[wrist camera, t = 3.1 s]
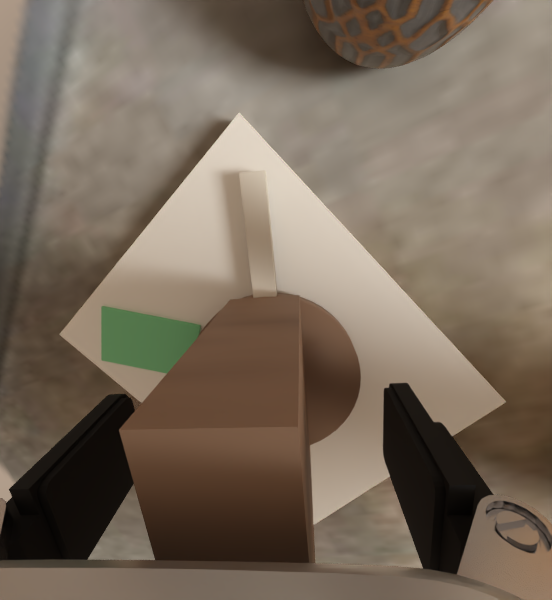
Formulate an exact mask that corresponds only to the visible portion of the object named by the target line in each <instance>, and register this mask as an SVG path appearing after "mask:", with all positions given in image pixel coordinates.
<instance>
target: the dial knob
mask: <svg viewBox="0 0 552 600" xmlns="http://www.w3.org/2000/svg"><path fill="white" fill-rule="evenodd" d="M239 177H240V186H241V195H242V204H243V212H244V221H245V230H246V238H247V247H248V256H249V265H250V273H251V282H252V291H253V295H250V296H246V297H243V298H241V299H230V300H229V301H228V303H227V304H226V305H225V306H224V307H223V308H222V309H221V310H220V311H219V312H218V313H217V314H216V315H215V316H214V317H213V318H212V319H211V320H210V321H209V322H208V323H207V324H206V326H205V327H204V328H203V330H202V331H201V332H200V334H199V335H198V337H197V339H196V340H195V341H194V342H193V344H192V345H191V346H190V347H189V348H188V350H187V351H186V352H185V353H184V354H183V355H182V357H181V358H180V359H179V360H178V361H177V362H176V364H175V365H174V366H173V367H172V368H171V369H170V371H169V372H168V373H167V374H166V375H165V376H164V378H163V379H162V380H161V381H160V382H159V384H158V385H157V386H156V387H155V388H154V389H153V391H152V392H151V393H150V394H149V395H148V396H147V398H146V399H145V400H144V401H143V402H142V403H141V405H140V406H139V407H138V408H137V409H136V410H135V412H134V413H133V414H132V415H131V416H130V418H129V419H128V420H127V421H126V422H125V423H124V425H123V426H122V427H121V428H120V429H119V432H120V436H121V439H122V443H123V446H124V450H125V454H126V457H127V461H128V464H129V468H130V471H131V475H132V479H133V482H134V486H135V489H136V493H137V496H138V500H139V504H140V507H141V511H142V514H143V518H144V521H145V525H146V529H147V532H148V536H149V539H150V543H151V546H152V550H153V553H154V557H155V560H165V561H233V562H282V563H315V548H314V525H313V501H312V478H311V455H310V445H312V444H314V443H316V442H319V441H321V440H323V439H324V438H326V437H328V436H329V435H331V434H332V433H333V432H334V431H336V430H337V429H338V428H339V427H340V426H341V425H342V424H343V423H344V422H345V420H346V419H347V418H348V416H349V415H350V413H351V412H352V410H353V408H354V406H355V404H356V401H357V398H358V395H359V391H360V383H361V372H360V364H359V360H358V356H357V354H356V351H355V349H354V346H353V344H352V341H351V339H350V337H349V335H348V334H347V332H346V330H345V329H344V327H343V326H342V325H341V324H340V322H339V321H338V320H337V319H336V318H335V317H334V316H333V315H332V314H331V313H329V312H328V311H327V310H325V309H324V308H323V307H321V306H319V305H318V304H316V303H314V302H312V301H310V300H307V299H305V298H302V297H300V295H292V294H286V293H277V284H276V273H275V262H274V251H273V240H272V229H271V218H270V207H269V196H268V185H267V174H266V171H265V170H262V171H253V172H244V173H239Z"/></svg>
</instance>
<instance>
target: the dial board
mask: <svg viewBox="0 0 552 600" xmlns="http://www.w3.org/2000/svg"><path fill="white" fill-rule="evenodd" d="M262 170H265V171H266V174H267V185H268V196H269V207H270V218H271V229H272V240H273V251H274V262H275V273H276V284H277V293H286V294H292V295H300V297H302V298H305V299H307V300H310V301H312V302H314V303H316V304H318V305H319V306H321V307H323V308H324V309H325V310H327V311H328V312H329V313H331V314H332V315H333V316H334V317H335V318H336V319H337V320H338V321H339V322H340V324H341V325H342V326H343V327H344V329H345V330H346V332H347V334H348V335H349V337H350V339H351V341H352V344H353V346H354V349H355V351H356V354H357V356H358V360H359V364H360V372H361V383H360V391H359V395H358V398H357V401H356V404H355V406H354V408H353V410H352V412H351V413H350V415H349V416H348V418H347V419H346V420H345V422H344V423H343V424H342V425H341V426H340V427H339V428H338V429H337V430H336V431H334V432H333V433H332V434H331V435H329V436H328V437H326V438H324V439H323V440H321V441H319V442H316V443H314V444H312V445H310V455H311V478H312V501H313V525H314V524H316V523H318V522H319V521H321V520H322V519H324V518H325V517H327V516H329V515H330V514H332V513H333V512H335V511H336V510H338V509H340V508H341V507H343V506H344V505H346V504H347V503H349V502H350V501H352V500H354V499H355V498H357V497H358V496H360V495H361V494H363V493H365V492H366V491H368V490H369V489H371V488H372V487H374V486H376V485H377V484H379V483H380V482H382V481H383V480H385V479H387V478H388V477H390V475H389V472H388V469H387V466H386V464H385V460H384V456H383V405H384V388H389V384H390V383H408V384H409V386H410V387H411V389H412V390H413V392H414V393H415V395H416V396H417V398H418V399H419V401H420V402H421V404H422V405H423V407H424V408H425V410H426V411H427V413H428V414H429V416H430V417H431V419H432V420H433V422H441V423H442V424H443V425H444V426H445V427H446V428H447V430H448V431H449V433H450V434H451V436H454V435H455V434H457V433H459V432H460V431H462V430H463V429H465V428H466V427H468V426H469V425H471V424H473V423H474V422H476V421H477V420H479V419H480V418H482V417H484V416H485V415H487V414H488V413H490V412H491V411H493V410H495V409H496V408H498V407H499V406H501V405H502V404H504V403H506V401H505V400H504V399H503V398H502V397H501V396H500V395H499V394H498V392H497V391H496V390H495V389H494V388H493V387H492V386H491V385H490V384H489V383H488V382H487V381H486V379H485V378H484V377H483V376H482V375H481V374H480V373H479V372H478V371H477V370H476V369H475V368H474V366H473V365H472V364H471V363H470V362H469V361H468V360H467V359H466V358H465V357H464V356H463V355H462V353H461V352H460V351H459V350H458V349H457V348H456V347H455V346H454V345H453V344H452V343H451V342H450V340H449V339H448V338H447V337H446V336H445V335H444V334H443V333H442V332H441V331H440V330H439V329H438V327H437V326H436V325H435V324H434V323H433V322H432V321H431V320H430V319H429V318H428V317H427V316H426V314H425V313H424V312H423V311H422V310H421V309H420V308H419V307H418V306H417V305H416V304H415V303H414V301H413V300H412V299H411V298H410V297H409V296H408V295H407V294H406V293H405V292H404V291H403V290H402V288H401V287H400V286H399V285H398V284H397V283H396V282H395V281H394V280H393V279H392V278H391V277H390V275H389V274H388V273H387V272H386V271H385V270H384V269H383V268H382V267H381V266H380V265H379V264H378V262H377V261H376V260H375V259H374V258H373V257H372V256H371V255H370V254H369V253H368V252H367V251H366V249H365V248H364V247H363V246H362V245H361V244H360V243H359V242H358V241H357V240H356V239H355V238H354V236H353V235H352V234H351V233H350V232H349V231H348V230H347V229H346V228H345V227H344V226H343V225H342V223H341V222H340V221H339V220H338V219H337V218H336V217H335V216H334V215H333V214H332V213H331V211H330V210H329V209H328V208H327V207H326V206H325V205H324V204H323V203H322V202H321V201H320V200H319V198H318V197H317V196H316V195H315V194H314V193H313V192H312V191H311V190H310V189H309V188H308V187H307V185H306V184H305V183H304V182H303V181H302V180H301V179H300V178H299V177H298V176H297V175H296V174H295V172H294V171H293V170H292V169H291V168H290V167H289V166H288V165H287V164H286V163H285V162H284V161H283V159H282V158H281V157H280V156H279V155H278V154H277V153H276V152H275V151H274V150H273V149H272V148H271V146H270V145H269V144H268V143H267V142H266V141H265V140H264V139H263V138H262V137H261V136H260V135H259V133H258V132H257V131H256V130H255V129H254V128H253V127H252V126H251V125H250V124H249V123H248V122H247V120H246V119H245V118H244V117H243V116H242V115H241V114H240V113H238V114H237V116H236V117H235V118H234V119H233V121H232V122H231V123H230V124H229V126H228V127H227V128H226V129H225V131H224V132H223V133H222V134H221V135H220V137H219V138H218V139H217V140H216V142H215V143H214V144H213V145H212V147H211V148H210V149H209V150H208V151H207V153H206V154H205V155H204V156H203V158H202V159H201V160H200V161H199V163H198V164H197V165H196V166H195V168H194V169H193V170H192V171H191V172H190V174H189V175H188V176H187V177H186V179H185V180H184V181H183V182H182V184H181V185H180V186H179V187H178V189H177V190H176V191H175V192H174V193H173V195H172V196H171V197H170V198H169V200H168V201H167V202H166V203H165V205H164V206H163V207H162V208H161V209H160V211H159V212H158V213H157V214H156V216H155V217H154V218H153V219H152V221H151V222H150V223H149V224H148V226H147V227H146V228H145V229H144V230H143V232H142V233H141V234H140V235H139V237H138V238H137V239H136V240H135V242H134V243H133V244H132V245H131V247H130V248H129V249H128V250H127V251H126V253H125V254H124V255H123V256H122V258H121V259H120V260H119V261H118V263H117V264H116V265H115V266H114V267H113V269H112V270H111V271H110V272H109V274H108V275H107V276H106V277H105V279H104V280H103V281H102V282H101V284H100V285H99V286H98V287H97V288H96V290H95V291H94V292H93V293H92V295H91V296H90V297H89V298H88V300H87V301H86V302H85V303H84V305H83V306H82V307H81V308H80V309H79V311H78V312H77V313H76V314H75V316H74V317H73V318H72V319H71V321H70V322H69V323H68V324H67V326H66V327H65V328H64V329H63V330H62V332H61V333H60V334H59V335H60V336H62V337H63V338H64V339H65V340H66V341H68V342H69V343H70V344H71V345H72V346H74V347H75V348H76V349H77V350H78V351H80V352H81V353H82V354H83V355H84V356H86V357H87V358H88V359H89V360H90V361H92V362H93V363H94V364H95V365H96V366H98V367H99V368H100V369H101V370H102V371H104V372H105V373H106V374H107V375H108V376H110V377H111V378H112V379H113V380H114V381H116V382H117V383H118V384H119V385H120V386H122V387H123V388H124V389H125V390H126V391H128V392H129V393H130V394H131V395H132V396H134V397H135V398H136V399H137V400H138V401H139V402H141V403H142V402H143V401H144V400H145V399H146V398H147V396H148V395H149V394H150V393H151V392H152V391H153V389H154V388H155V387H156V386H157V385H158V384H159V382H160V381H161V380H162V379H163V378H164V376H165V375H166V374H167V373H168V372H169V371H170V369H171V368H172V367H173V366H174V365H175V364H176V362H177V361H178V360H179V359H180V358H181V357H182V355H183V354H184V353H185V352H186V351H187V350H188V348H189V347H190V346H191V345H192V344H193V342H194V341H195V340H196V339H197V337H198V335H199V334H200V332H201V331H202V330H203V328H204V327H205V326H206V324H207V323H208V322H209V321H210V320H211V319H212V318H213V317H214V316H215V315H216V314H217V313H218V312H219V311H220V310H221V309H222V308H223V307H224V306H225V305H226V304H227V303H228V301H229V300H230V299H241V298H243V297H246V296H250V295H253V291H252V282H251V273H250V265H249V256H248V247H247V238H246V230H245V221H244V212H243V204H242V195H241V186H240V177H239V173H244V172H253V171H262Z"/></svg>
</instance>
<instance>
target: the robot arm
mask: <svg viewBox="0 0 552 600" xmlns="http://www.w3.org/2000/svg"><path fill="white" fill-rule="evenodd" d="M134 412H135V410H134V406H133V402H132V400H131V398H128V396H127V395H126V394H112V395H108V396H107V397H106V398H105V399H103V400H102V401H101V402H100V403H99V404H98V405H97V406H96V407H95V408H94V409H93V410H92V411H91V412H90V413H89V414H88V415H87V416H86V417H84V418H83V419H82V420H81V421H80V422H79V423H78V424H77V425H76V426H75V427H74V428H73V429H72V430H71V431H70V432H69V433H68V434H67V435H66V436H64V437H63V438H62V439H61V440H60V441H59V442H58V443H57V444H56V445H55V446H54V447H53V448H52V449H51V450H50V451H49V452H48V453H47V454H46V455H44V456H43V457H42V458H41V459H40V460H39V461H38V462H37V463H36V464H35V465H34V466H33V467H32V468H31V469H30V470H29V471H28V472H27V473H26V474H24V475H23V476H22V477H21V478H20V479H19V480H18V481H17V482H16V483H15V484H14V485H13V486H12V487H11V488H10V489H9V491H10V493H11V495H12V498H11V499H10V500H9V501H8V502H7V503H6V501H5V500H3V499H2V498H0V600H552V524H551V523H550V522H549V521H548V520H547V518H546V517H544V516H543V515H542V514H541V513H539V512H538V511H537V510H536V509H534V508H533V507H531V506H529V505H527V504H526V503H524V502H522V501H520V500H517V499H514V498H512V497H509V496H503V495H493V493H492V492H491V491H490V489H489V488H488V486H487V485H486V484H485V482H484V481H483V479H482V478H481V477H480V475H479V474H478V472H477V471H476V469H475V468H474V467H473V465H472V464H471V462H470V461H469V460H468V458H467V457H466V455H465V454H464V452H463V451H462V450H461V448H460V447H459V445H458V444H457V443H456V441H455V440H454V438H453V437H452V436H451V434H450V433H449V431H448V430H447V428H446V427H445V426H444V425H443V424H442V423H441V422H433V420H432V419H431V417H430V416H429V414H428V413H427V411H426V410H425V408H424V407H423V405H422V404H421V402H420V401H419V399H418V398H417V396H416V395H415V393H414V392H413V390H412V389H411V387H410V386H409V384H408V383H390V384H389V388H384V405H383V456H384V460H385V464H386V466H387V469H388V472H389V475H390V477H391V480H392V483H393V486H394V489H395V491H396V494H397V497H398V500H399V502H400V505H401V508H402V511H403V514H404V516H405V519H406V522H407V525H408V527H409V530H410V533H411V536H412V538H413V541H414V544H415V547H416V550H417V552H418V555H419V558H420V561H421V563H422V566H423V569H420V568H410V567H399V566H380V565H355V564H330V563H282V562H233V561H165V560H87V559H88V557H89V556H90V554H91V553H92V551H93V549H94V548H95V546H96V544H97V543H98V541H99V539H100V538H101V536H102V534H103V533H104V531H105V530H106V528H107V526H108V525H109V523H110V521H111V520H112V518H113V516H114V515H115V513H116V511H117V510H118V508H119V507H120V505H121V503H122V502H123V500H124V498H125V497H126V495H127V493H128V492H129V490H130V489H131V487H132V485H133V484H134V482H133V479H132V475H131V471H130V468H129V464H128V461H127V457H126V454H125V450H124V446H123V443H122V439H121V436H120V432H119V429H120V428H121V427H122V426H123V425H124V423H125V422H126V421H127V420H128V419H129V418H130V416H131V415H132V414H133V413H134Z"/></svg>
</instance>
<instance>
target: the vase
mask: <svg viewBox="0 0 552 600" xmlns="http://www.w3.org/2000/svg"><path fill="white" fill-rule="evenodd" d="M492 1H493V0H303V2H304V5H305V8H306V10H307V13H308V15H309V17H310V19H311V21H312V23H313V25H314V26H315V28H316V30H317V32H318V33H319V35H320V36H321V37H322V39H323V40H324V41H325V42H326V44H327V45H328V46H329V47H330V48H331V49H332V50H334V51H335V52H336V53H337V54H339V55H340V56H341V57H343V58H344V59H346V60H348V61H350V62H352V63H354V64H357V65H360V66H364V67H369V68H392V67H397V66H401V65H405V64H408V63H410V62H413V61H416V60H418V59H420V58H423V57H425V56H427V55H429V54H430V53H432V52H434V51H435V50H437V49H439V48H440V47H442V46H443V45H445V44H446V43H448V42H449V41H451V40H452V39H453V38H455V37H456V36H457V35H458V34H459V33H461V32H462V31H463V30H464V29H465V28H466V27H467V26H468V25H470V24H471V23H472V22H473V21H474V20H475V19H476V18H477V17H478V16H479V15H480V14H481V13H482V12H483V11H484V10H485V9H486V8H487V7H488V6H489V5H490V4H491V2H492Z"/></svg>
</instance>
